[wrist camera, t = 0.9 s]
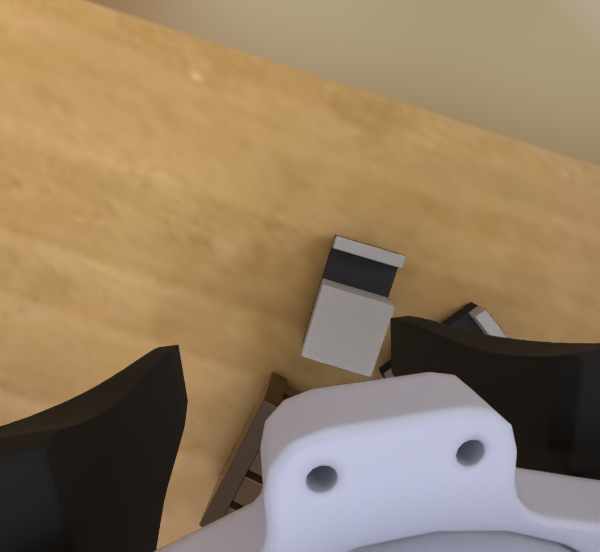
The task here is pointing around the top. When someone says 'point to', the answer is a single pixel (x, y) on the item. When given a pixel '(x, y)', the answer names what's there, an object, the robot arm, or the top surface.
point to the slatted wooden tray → (246, 457)
